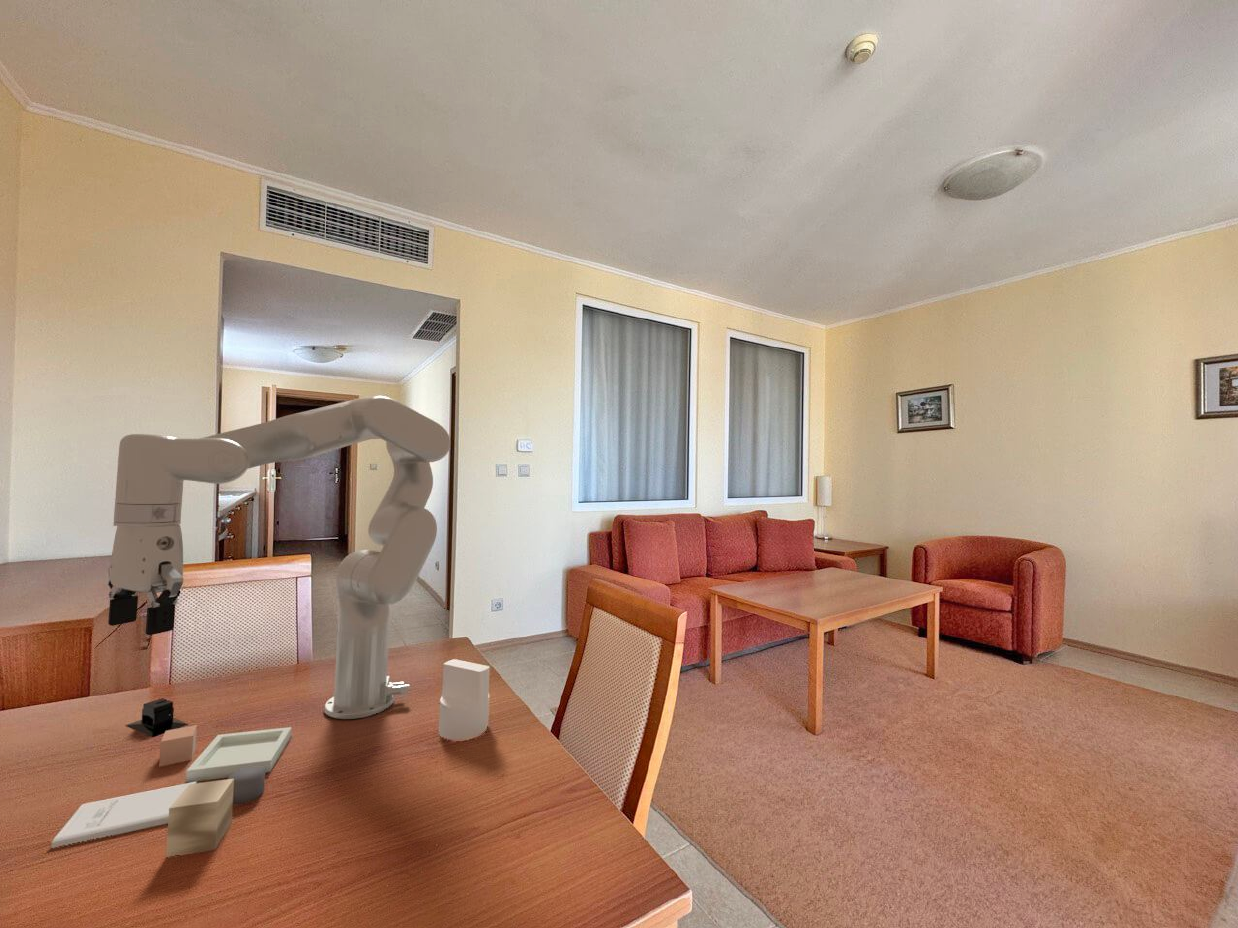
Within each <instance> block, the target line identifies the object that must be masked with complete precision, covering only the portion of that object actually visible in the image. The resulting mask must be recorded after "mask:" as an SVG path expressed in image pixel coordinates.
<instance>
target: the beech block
mask: <svg viewBox="0 0 1238 928" xmlns="http://www.w3.org/2000/svg"><path fill="white" fill-rule="evenodd" d="M233 790H234V779H228V778H227V779H222V780H221V779H220V780H214V781H212V780H211V781H206V782H205V781H204V782H197V783H196V784H189V785H188V786H187V788H186V789H185V790H184V791H183V792H182V794H181V795H180V796H179V797H178V798H177V800H176V801H175V802H174V803H173V804H172V805H171V807H170V808H169V819H168V823H167V824H168V825H167V836H166V837H167V838H166V850H165V851H166V853H165V855H166V856H165V858H166V857H168V858H170V857H169V856H174V857H176V856H175V855H180V856H185V855H190V854H197V853H203V852H210V851H216V849H217V848H218V846H219V845H220V843H221V841H222V840H223V838H224V836H225V835H226V833H227V832H228V831H229V828H230V827H231V825H232V822H233V821H232V820H233V805H234V804H233Z"/></svg>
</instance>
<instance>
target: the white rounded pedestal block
mask: <svg viewBox="0 0 1238 928" xmlns="http://www.w3.org/2000/svg"><path fill="white" fill-rule="evenodd" d="M490 667H491V666H489V665H485V664H480V663H476V662H475V663H474V662H470V661H465V660H460V659H456V658H452V659H451V660H447V661H446V662H444V663H443V668H442V669H443V671H442V673H443V674H442V688H441V689H442V691H441V692H442V693H441V697H440V699H439V717H438V718H439V719H438V721H439V722H438V735H439V734H440V735H439V736H441V738H442V737H444V738H447V739H452V740H460V739H467V738H470V737H475V736H477V735H479V734H481V733H482V732H483V731H484V730H485V729H486V728H487V726H488V727H489V716H490V698H491V697H490V692H489V691H490V671H491V670H490V669H491V668H490Z"/></svg>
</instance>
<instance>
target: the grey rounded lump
mask: <svg viewBox="0 0 1238 928" xmlns="http://www.w3.org/2000/svg"><path fill="white" fill-rule="evenodd" d="M265 777H266V772H265V768H264V767H261V766H251V767H246V768H243V769H240V770H238V771H236V772H234V773H233V774H231V775H230V776H229V777H227V779H234V790H233V805H243V804H246V803H250V802H252V801H254V800H256V799H258V798H259V797H261V796H262V795H263V793H264V792H265V780H266V779H265Z"/></svg>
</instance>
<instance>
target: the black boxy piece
mask: <svg viewBox="0 0 1238 928" xmlns="http://www.w3.org/2000/svg"><path fill="white" fill-rule="evenodd" d="M142 707H143V708H142V709H141V719H140V720H136V721H134V722H131V723H128V724H126V725H124V726H125V727H126V728H129V729H131V730H134V731H136V732H138V733H141V734H143V735H146V736H147V737H150V738H155V737H158V736H161V735H164V734H165V731H167V730H172V729H178V728H183V727H187V726H188V725H189V726H190V724H189V723H187V722H185V721H182V720H180V719H178V718H174V712H175V710H174V709H175V707H174V701H171V700H168V699H167V698H163V697H162V698H159V699H155V700H152V701H149V702H145V703H143V705H142Z"/></svg>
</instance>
